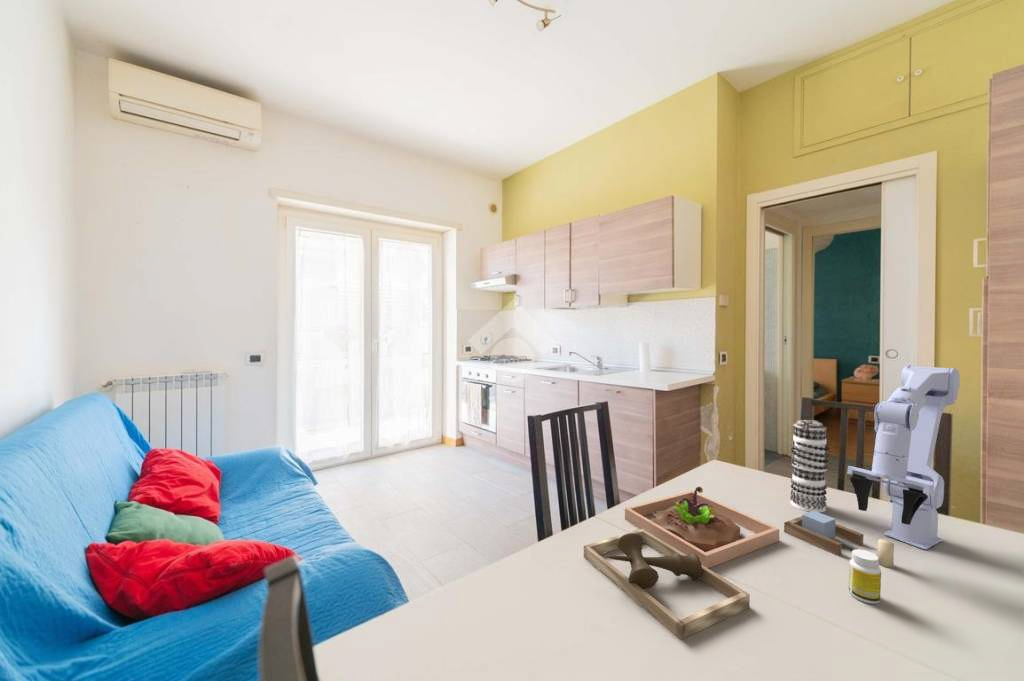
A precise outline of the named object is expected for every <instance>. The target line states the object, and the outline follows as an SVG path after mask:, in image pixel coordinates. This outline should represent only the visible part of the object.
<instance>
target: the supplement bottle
mask: <svg viewBox="0 0 1024 681" xmlns="http://www.w3.org/2000/svg"><path fill="white" fill-rule="evenodd" d="M848 562H849V565H848V567H849V568H848V592H849V594H850V595H851V596H852V597H854V598H855V599H856V600H858V601H861V602H864V603H866V604H872V605H873V604H879V603H880V602H881V586H882V580H881V579H882V570H881V568H880V567H879V565H880V564H879V558H878V555H876V554H875V553H873V552H872V551H871V552H870V551H869V550H864V549H858V548H856V549H855V550H853V551H851V559H850V560H849V561H848Z"/></svg>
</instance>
